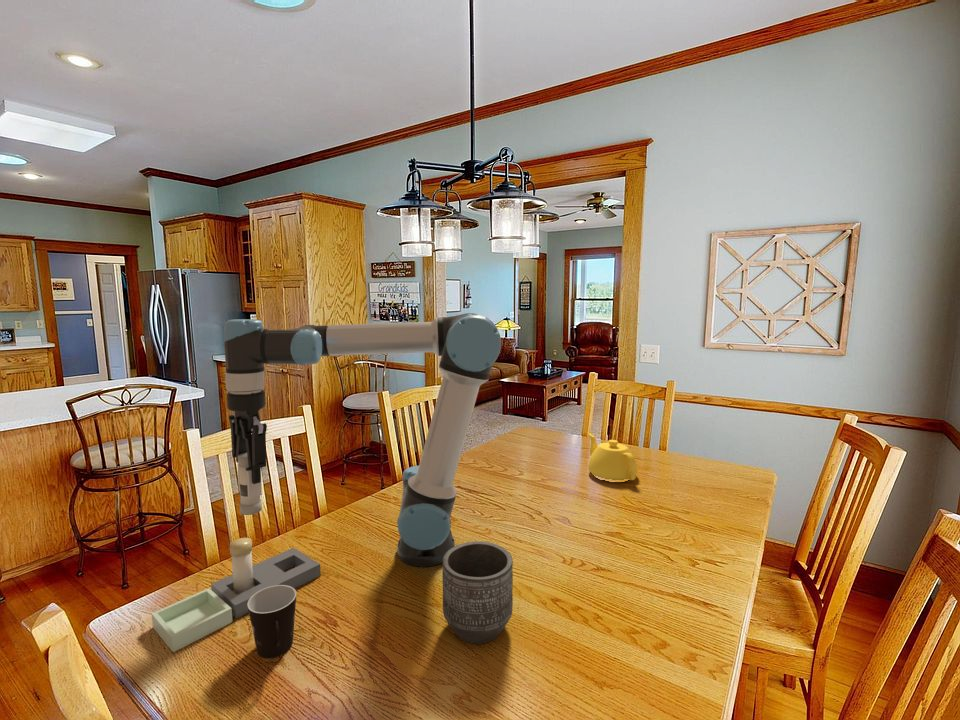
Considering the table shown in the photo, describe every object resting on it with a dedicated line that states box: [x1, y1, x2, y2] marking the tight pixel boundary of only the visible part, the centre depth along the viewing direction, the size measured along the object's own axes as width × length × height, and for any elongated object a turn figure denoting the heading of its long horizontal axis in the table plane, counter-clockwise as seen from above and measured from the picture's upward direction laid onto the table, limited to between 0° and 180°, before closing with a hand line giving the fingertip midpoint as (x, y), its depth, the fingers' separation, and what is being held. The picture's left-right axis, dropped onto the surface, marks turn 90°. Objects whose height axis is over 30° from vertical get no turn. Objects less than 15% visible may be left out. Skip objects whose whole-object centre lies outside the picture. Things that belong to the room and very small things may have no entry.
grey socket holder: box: [210, 537, 322, 619], centre depth 111 cm, size 12×20×13 cm, turn 141°
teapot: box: [587, 432, 638, 481], centre depth 181 cm, size 25×18×14 cm
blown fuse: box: [237, 452, 263, 516], centre depth 106 cm, size 4×4×13 cm
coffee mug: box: [247, 585, 297, 659], centre depth 90 cm, size 12×9×10 cm
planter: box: [442, 540, 514, 645], centre depth 97 cm, size 14×14×15 cm
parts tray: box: [151, 587, 233, 653], centre depth 98 cm, size 11×11×3 cm
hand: (250, 493), depth 107 cm, fingers closed on blown fuse, 4 cm apart
